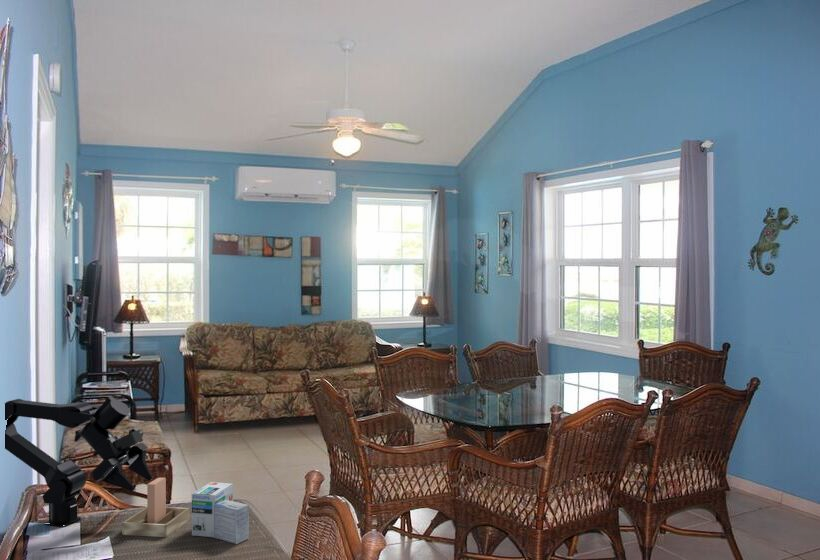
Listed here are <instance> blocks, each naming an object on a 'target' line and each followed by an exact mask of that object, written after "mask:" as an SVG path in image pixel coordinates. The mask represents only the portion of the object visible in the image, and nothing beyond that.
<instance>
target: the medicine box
mask: <svg viewBox="0 0 820 560" xmlns="http://www.w3.org/2000/svg"><path fill="white" fill-rule="evenodd" d="M249 521H250V520H249V505H248V504H247V503H246V504H245V503H241V502H238V501H234V500H233V501H230V500H225V501H222V502H219V503H217V504H214V537H213V538H214V539H217V540H221V541H225V542H228V543H230V544H231V543H232V544H234V545H238V544H240V543H242V542H244V541H247V540H249V538H250V531H249V530H250V529H249V527H250V526H249Z"/></svg>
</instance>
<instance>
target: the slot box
mask: <svg viewBox="0 0 820 560" xmlns="http://www.w3.org/2000/svg"><path fill="white" fill-rule="evenodd" d="M190 513H191V510H190V507H174V506H173V507H172V506H171V507H170V506H166V515H165V516H163V517H162V518H160V519H159V520H158V521H156V522H155V523H153V524H151V523H147V506H145V507H144V508H142V509H141V510H139V511H138V512H136V513H135V514H134V515H132V516H130V517H129V518H127V519H126V520H124V521H123V522H121V535H122V536H139V537H140V536H141V537H157V538H158V537H159V538H160V537H161V538H167V537H169V536H170V535H171V534H173V533H174V532H176V531H177V530H178V529H179V528H180V527H182V526H183V525H185V524H186V523H187V522H188V521H189V520H190V518H191V517H190V516H191V514H190Z"/></svg>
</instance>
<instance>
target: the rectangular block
mask: <svg viewBox="0 0 820 560" xmlns="http://www.w3.org/2000/svg"><path fill="white" fill-rule="evenodd" d="M166 482H167V478H166V477H157V478H155V479H154V480H152V481H149V483H147V484H146V486H147V488H146V490H147V491H146V492H147V495H146V496H147V497H146V498H147V499H146V500H147V501H146V503H147V504H146V505H147V506H146V507H147V523H151V524H153V523H155V522H156V521H158V520H159V519H160V518H162V517H163V516H165V515H166V507H167V486H166V485H167V483H166Z"/></svg>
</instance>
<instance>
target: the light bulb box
mask: <svg viewBox="0 0 820 560" xmlns="http://www.w3.org/2000/svg"><path fill="white" fill-rule="evenodd" d="M225 500H230V501H234V484H233V483H229V482H228V483H226V482H218V481H217V482H215V481H210V482H209V483H207V484H205V485H203V487H200V488H199V489H197V490H196V491H193V492H191V536H193V537H194V536H195V537H206V538H214V504H217V503H219V502H222V501H225Z"/></svg>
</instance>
